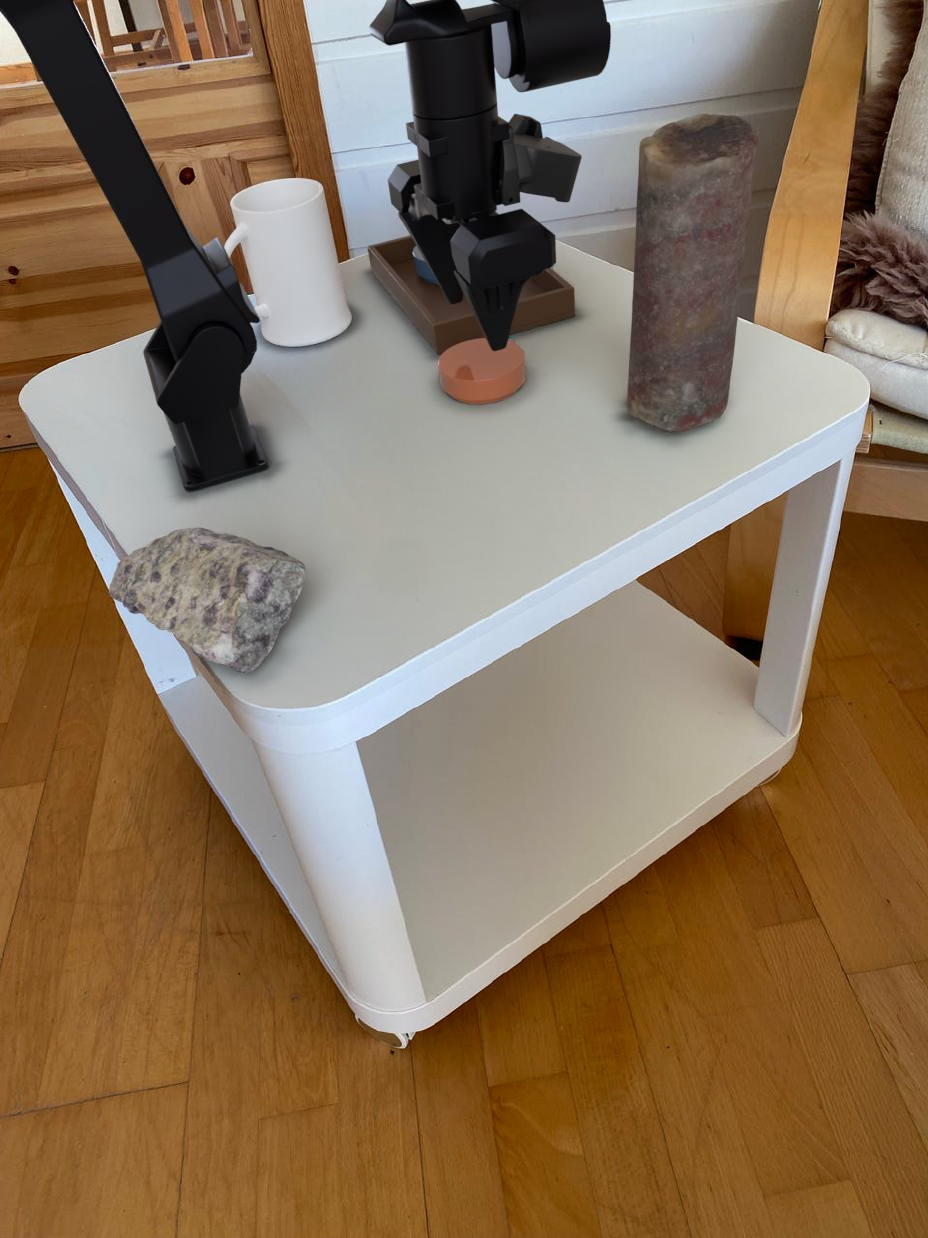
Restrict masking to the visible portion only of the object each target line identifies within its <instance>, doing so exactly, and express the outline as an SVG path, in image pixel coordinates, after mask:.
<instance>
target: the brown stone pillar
mask: <svg viewBox="0 0 928 1238" xmlns="http://www.w3.org/2000/svg"><path fill="white" fill-rule="evenodd" d="M759 141H760V134H759V130H758V128H757V127H755V126H754V125H753V124H752V123H751V122H750V121H747V119H745V118H742V117H740V116H738V115H736V114H729V115H728V114H727V115H725V114H716V113H712V114H708V113H698V114H696V115H691V116H686V117H684V118H680V119H679V120H677V121H672V122H669V123H667V124H664V125H662V126H661V127H659V128H657V129H656V130H655V131H654V133H653V134H652V135H651V136H646V137H644V138H642V139H641V140H640V142H639V150H638V174H637V175H638V176H637V192H636V207H635V208H636V210H635V218H636V219H635V238H634V239H635V240H634V263H633V280H632V281H633V282H632V302H631V303H632V304H631V324H630V340H629V359H628V375H627V376H628V377H627V394H626V395H627V397H626V410H627V412H628V413H629V414H630V416H631V417H633V418H635V419H640V420H641V421H643V422H645V423H647V424H649V425H650V426H652V427H653V428H657V429H660V430H661V431H664V432H668V433H672V432H674V431H676V432H677V431H678V432H679V431H687V430H690V429H693V428H695V427H699V426H702V425H705V424H709V423H710V422H714V421H715V420H717V419H720V418H721V417H722V416H723V415H724V412H725V411H726V409H727V407H728V402H729V395H730V387H731V379H732V371H733V364H734V362H733V361H734V354H735V347H736V336H737V328H738V320H739V319H738V318H739V307H740V298H741V289H742V281H743V274H744V273H743V272H744V264H745V254H746V245H747V237H748V230H749V223H750V222H749V221H750V214H751V213H750V212H751V207H752V200H753V199H752V195H753V189H754V182H755V172H756V163H757V157H758V156H757V155H758V149H759Z"/></svg>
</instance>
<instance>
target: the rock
mask: <svg viewBox="0 0 928 1238" xmlns="http://www.w3.org/2000/svg"><path fill="white" fill-rule="evenodd" d="M306 571H307V569H306V565H305V563H303V561H301V560H300V559H298V558H295V557H294V556H291V555H289V554H288V553H286V552H285V551H283V550H279V549H276V548H274V547H272V546H262V545H259V544H257V543H255V542H253V541H251V540H249V539H248V538H245V537H241V536H237V535H234V534H231V533H221V532H218V533H217V532H215V531H214V530H211V529H207V528H204V527H192V528H191V527H187V528H180V529H179V528H178V529H175V530H173V531H171V532H169V533H168V534H166V535H164V536H161V537H158V538H155V539H153V540H152V541H151V542H149V544H147V545H145V546H143V547H140V548H137V549H135V550H133V551H132V552H131V554H129V555H126V556H125V557H123V558H122V559H121V560H120V561H119V562H117V565H116V568H115V571H114V573H113V577H112V580H111V582H110V584H109V585H108V594H109V596H110V597H111V598H112V599H113V600H115V601H118V602H120V603H121V604H122V606H123V608H126V609H127V611H128V612H129V613H130V614H134V615H136V614H141V615H143V616H144V618H145V619H146V621H147V622H148V623H151V625H154V626H155V628H156V629H158V630H160V631H165V630H166V631H167V633H172V634H173V635H174V636H175V638H176V640H177V641H179V642H181V643H184V644H186V645H188V647H189V649H190V650H191V652H192V653H193V654H194V655H195V656H196V657H198V658H202V659H203V658H204V659H205V660H207V661H209V662H211V663H214V664H222V665H224V666H225V665H226V666H227V667H228V668H229V669H230V670H232V671H235V672H237V673H240V674H246V673H250V672H253V671H255V670H256V669H257V668H258V667H259V666H260V665H261V663H262V662H263V661H264V660H265V658H267V656H268V655H270V652H271V651H272V649H273V648H274V647H275V643H276V640H277V638H278V636H279V632H280V630H281V628H282V627H283V626H284V625H285V624H287V623H288V621H289V620H290V619H289V618H290V614H291V612H292V610H293V608H294V606H295V604H296V602H297V600H298V598H299V597H300V595H301V592H302V589H303V587H304V582H305V580H306V578H305V573H306Z"/></svg>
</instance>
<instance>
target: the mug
mask: <svg viewBox="0 0 928 1238" xmlns="http://www.w3.org/2000/svg"><path fill="white" fill-rule="evenodd" d="M229 205H230V209H231V213H232V216H233V220H234V223H235V229H234V230H233V231H232V233H230V234H229V235H230V236H229V237H228V238H227V240H226V241H225V244H224V245H223V246H224V248H225V250H226V252H227V254H228V256H229V258H230V259H231V256H232V253H233V252H234V250H235V249H236V247H237V246H238V245H239V244H240V246H241V250H242V254H243V258H244V261H245V264H246V268H247V272H248V276H249V280H250V284H251V288H252V291H253V295H254V298H255V302H256V306H253V307H254V309H255V311H256V313H257V315H258V317H259V319H260V324H261V325H260V326H261V327H260V328H261V334H262V337H263V338H264V339H265V340H266V341H267V342H269V343H271V344H272V345H275V346H280V347H289V348H297V347H299V348H300V347H308V346H313V345H316V344H320V343H324V342H326V341H330V340H331V339H333V338H335V337H337V336H339V335H341V334H342V333H343V332H345V331H346V329H348V327H349V326H350V325H351V323H352V320H353V315H352V312H351V310H350V307H349V305H348V302H347V299H346V294H345V288H344V285H343V284H344V283H343V279H342V273H341V269H340V264H339V258H338V255H337V249H336V244H335V240H334V234H333V230H332V225H331V220H330V213H329V209H328V204H327V200H326V195H325V190H324V185H322V183H320V182H319V181H317V180H316V179H315V180H314V179H311V178H304V177H288V178H279V179H278V178H277V179H273V180H268V181H265V182H264V181H263V182H260V183H257V184H254V185H251V186H249V187H247V188H244V189H243V190H241V191H239V192H238V193H236V194H234V196H233V197H232V198H231V200H230V203H229Z"/></svg>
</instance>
